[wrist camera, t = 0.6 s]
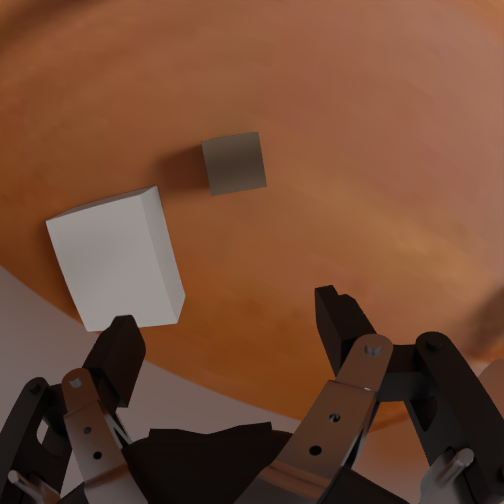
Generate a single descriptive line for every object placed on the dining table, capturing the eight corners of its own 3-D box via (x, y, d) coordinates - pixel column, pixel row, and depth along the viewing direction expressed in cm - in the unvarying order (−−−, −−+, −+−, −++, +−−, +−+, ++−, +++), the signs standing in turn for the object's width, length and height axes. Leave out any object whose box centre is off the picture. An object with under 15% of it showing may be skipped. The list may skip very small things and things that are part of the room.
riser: (71, 208, 31) (45, 221, 26) (157, 185, 31) (140, 194, 25) (104, 306, 36) (87, 331, 30) (185, 296, 36) (177, 323, 30)
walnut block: (208, 142, 30) (201, 141, 24) (254, 134, 30) (258, 131, 24) (216, 186, 31) (211, 196, 26) (261, 178, 31) (266, 186, 26)
